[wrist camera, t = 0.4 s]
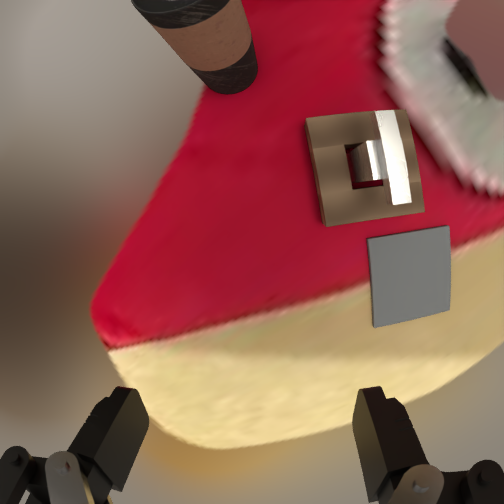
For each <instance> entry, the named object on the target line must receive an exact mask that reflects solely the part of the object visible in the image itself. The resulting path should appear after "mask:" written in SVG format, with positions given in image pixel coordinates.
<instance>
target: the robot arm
mask: <svg viewBox="0 0 504 504" xmlns="http://www.w3.org/2000/svg"><path fill="white" fill-rule="evenodd" d="M352 425H353V433H354V437H355V441H356V445H357V449H358V454H359V458H360V463H361V467H362V471H363V476H364V481H365V486H366V491H367V496H368V501H369V503H370V502H374V501H379V504H504V473H503V470H502V468H501V467H500V465H499V464H497V463H496V462H495V461H492V460H483V461H479V462H477V463H476V464H475V465H474V466H473V467H472V468H471V469H470V470H468V471H458V472H442V471H440V470H439V469H438V468H436V467H434V466H432V465H430V464H429V463H428V461H427V459H426V457H425V454H424V452H423V449H422V447H421V444H420V442H419V440H418V437H417V435H416V432H415V430H414V428H413V425H412V423H411V421H410V419H409V416H408V414H407V411H406V409H405V407H404V406H403V405H402V404H401V403H400V402H399V401H398V400H397V399H396V398H395V397H394V398H389V399H386V397H385V395H384V392H383V390H382V388H381V387H380V386H377V387H370V388H364V389H359V391H358V395H357V400H356V404H355V409H354V413H353V420H352ZM148 427H149V416H148V413H147V411H146V409H145V406H144V404H143V402H142V399H141V397H140V395H139V392H138V391H137V390H136V389H133V388H126V387H120V386H118V387H116V388H115V389H114V391H113V392H112V394H111V395H110V397H105V398H104V399H103V400H101V401H100V402H99V403H98V404H96V405H95V407H94V409H93V410H92V412H91V413H90V416H88V418H87V420H86V423H84V424H83V426H82V428H81V429H80V431H79V432H78V434H77V435H76V437H75V439H74V440H73V442H72V444H71V445H70V447H69V449H68V450H67V451H59V452H56V453H54V454H52V455H51V456H50V457H49V458H42V457H33V456H31V455H30V454H29V453H28V452H27V451H26V449H25V448H23V447H21V446H13V447H10V448H9V449H7V450H6V451H5V453H4V454H3V456H2V457H1V459H0V504H19V502H20V500H21V498H22V496H23V494H24V492H25V490H27V491H28V492H30V495H29V497H28V499H27V501H26V503H25V504H113V502H112V500H111V498H110V496H109V492H110V490H111V489H114V490H117V491H120V492H122V490H123V487H124V485H125V483H126V480H127V478H128V475H129V473H130V470H131V468H132V466H133V463H134V461H135V458H136V456H137V454H138V451H139V449H140V447H141V444H142V442H143V440H144V437H145V435H146V432H147V430H148Z"/></svg>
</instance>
